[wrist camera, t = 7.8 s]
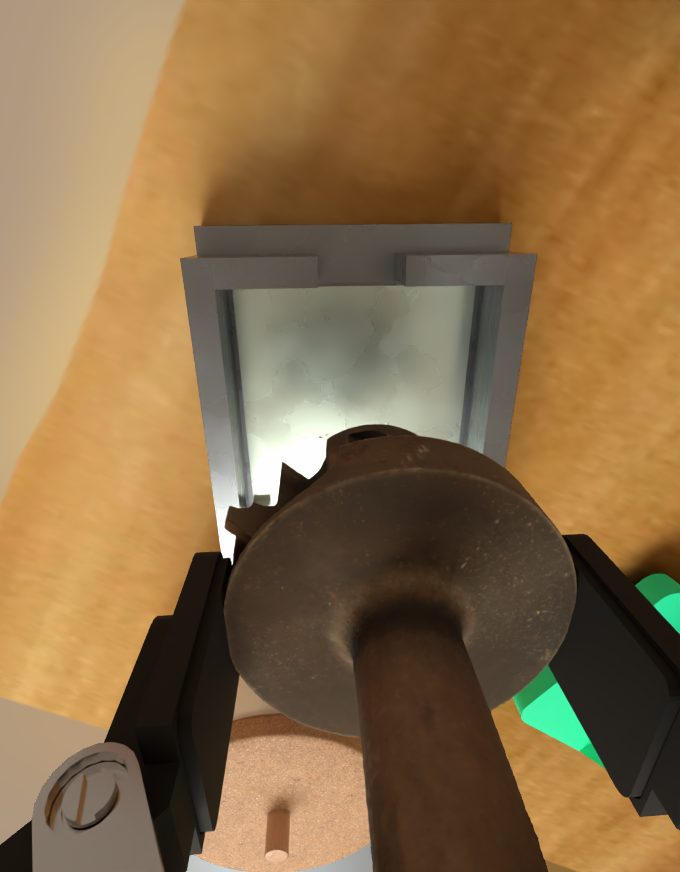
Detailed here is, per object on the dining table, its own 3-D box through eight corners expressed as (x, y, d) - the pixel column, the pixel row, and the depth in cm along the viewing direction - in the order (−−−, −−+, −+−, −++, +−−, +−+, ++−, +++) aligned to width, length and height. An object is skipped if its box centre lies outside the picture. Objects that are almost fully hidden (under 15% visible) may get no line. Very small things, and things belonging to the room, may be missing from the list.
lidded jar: (407, 636, 28) (450, 817, 19) (321, 741, 31) (325, 934, 23) (243, 572, 25) (208, 748, 16) (170, 695, 28) (109, 894, 20)
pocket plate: (500, 223, 19) (542, 221, 15) (461, 546, 25) (485, 594, 22) (200, 226, 18) (175, 224, 15) (240, 556, 24) (228, 607, 21)
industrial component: (196, 496, 14) (-236, 1473, 3) (361, 317, 12) (868, 1171, 1) (408, 641, 17) (589, 1403, 6) (568, 515, 15) (1272, 1291, 4)
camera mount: (643, 554, 26) (828, 731, 17) (718, 611, 29) (917, 795, 19) (497, 678, 30) (583, 882, 20) (573, 719, 32) (683, 921, 23)
